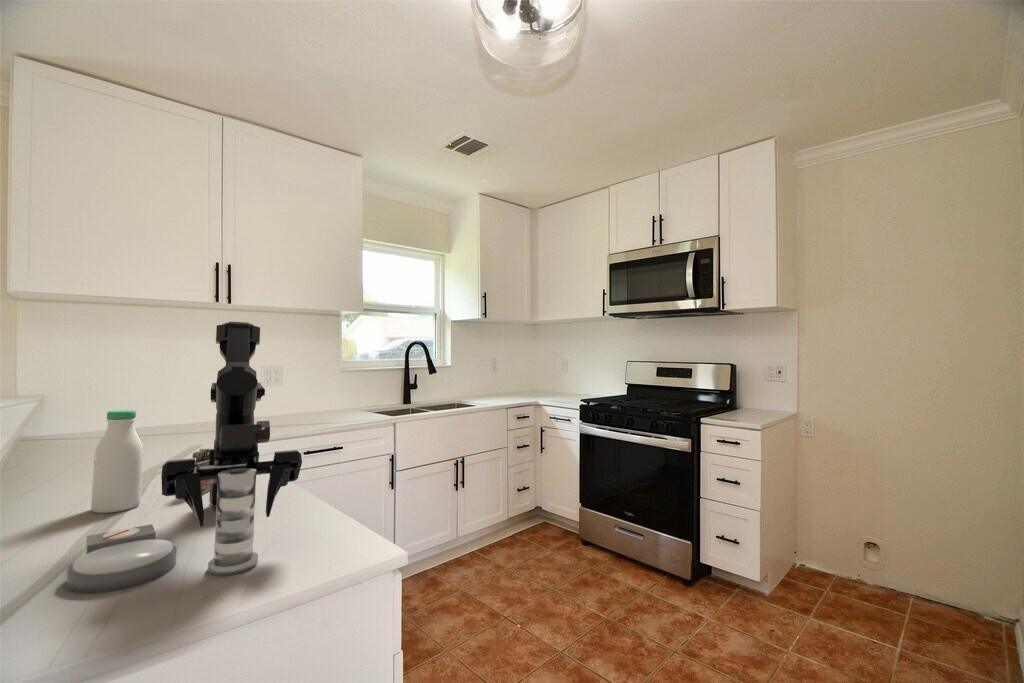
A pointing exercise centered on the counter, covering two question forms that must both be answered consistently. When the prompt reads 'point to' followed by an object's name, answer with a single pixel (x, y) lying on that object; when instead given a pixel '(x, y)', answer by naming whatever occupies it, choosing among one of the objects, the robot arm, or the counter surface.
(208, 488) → the lighter
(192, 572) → the counter surface
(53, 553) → the counter surface
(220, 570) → the disc
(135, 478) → the milk bottle
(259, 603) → the counter surface
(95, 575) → the kitchen scale
